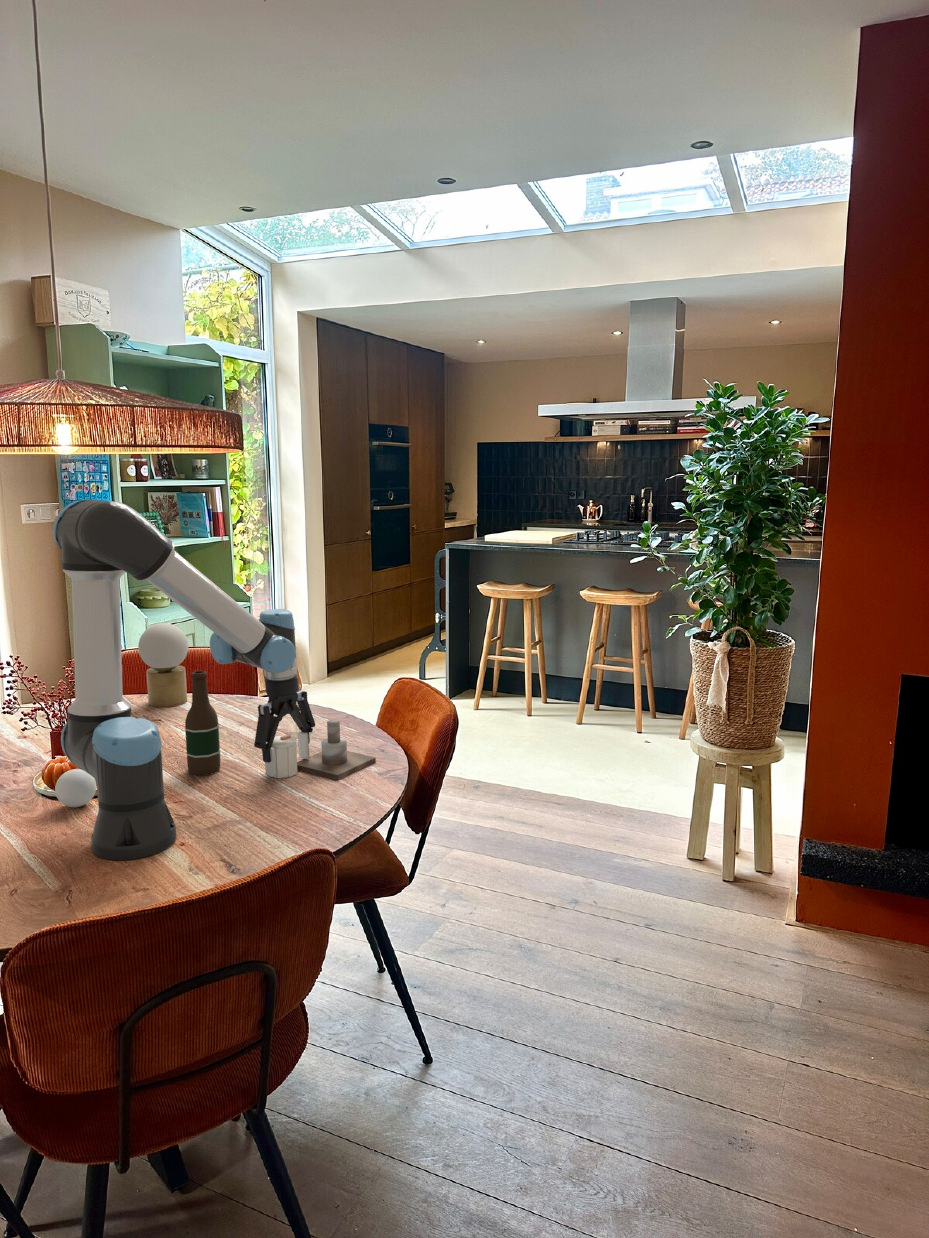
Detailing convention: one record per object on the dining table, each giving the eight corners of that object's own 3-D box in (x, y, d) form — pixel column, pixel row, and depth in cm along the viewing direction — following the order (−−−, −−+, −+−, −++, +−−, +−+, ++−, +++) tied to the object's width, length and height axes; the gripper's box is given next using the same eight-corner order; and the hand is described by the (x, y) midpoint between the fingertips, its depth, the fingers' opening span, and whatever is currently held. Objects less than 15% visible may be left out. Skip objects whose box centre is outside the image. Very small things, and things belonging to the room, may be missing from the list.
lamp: (189, 709, 251) (184, 626, 246) (139, 712, 248) (133, 628, 243) (193, 696, 265) (188, 617, 261) (146, 698, 262) (140, 619, 258)
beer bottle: (211, 777, 195) (205, 676, 191) (181, 774, 197) (174, 675, 193) (227, 765, 203) (222, 668, 199) (197, 763, 205) (192, 667, 200)
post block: (337, 779, 194) (336, 733, 192) (292, 768, 201) (291, 724, 199) (375, 762, 205) (374, 718, 203) (332, 752, 213) (330, 709, 211)
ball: (52, 814, 174) (49, 778, 173) (61, 800, 182) (58, 765, 181) (93, 811, 176) (90, 775, 175) (101, 797, 184) (98, 762, 182)
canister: (282, 779, 194) (281, 743, 192) (261, 774, 197) (260, 738, 196) (303, 771, 199) (302, 736, 198) (282, 765, 203) (281, 731, 201)
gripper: (256, 691, 183) (264, 786, 188) (326, 666, 202) (332, 752, 207) (232, 686, 187) (240, 779, 192) (303, 662, 206) (309, 747, 211)
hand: (288, 765), depth 199 cm, fingers open, 10 cm apart
